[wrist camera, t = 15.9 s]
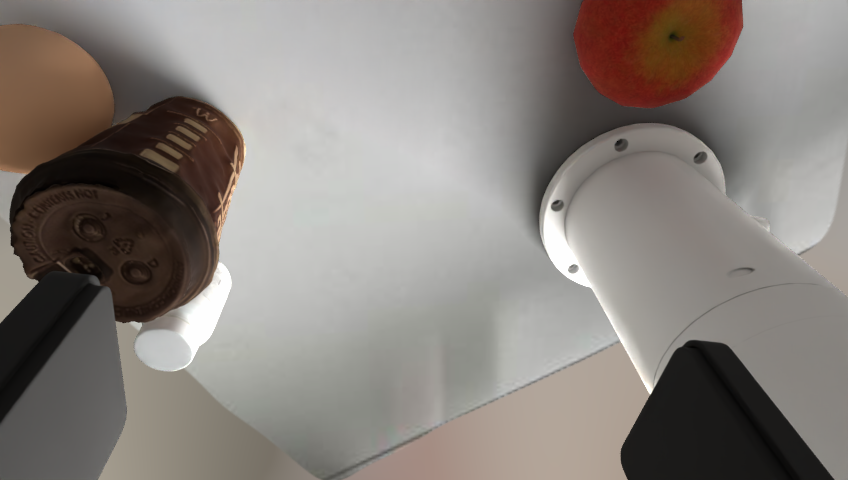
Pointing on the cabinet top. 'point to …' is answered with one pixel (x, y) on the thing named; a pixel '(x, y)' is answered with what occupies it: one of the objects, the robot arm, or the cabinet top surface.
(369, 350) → the cabinet top surface
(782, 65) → the cabinet top surface
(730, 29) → the apple
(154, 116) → the coffee cup
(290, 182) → the cabinet top surface
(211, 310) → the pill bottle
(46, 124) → the egg
